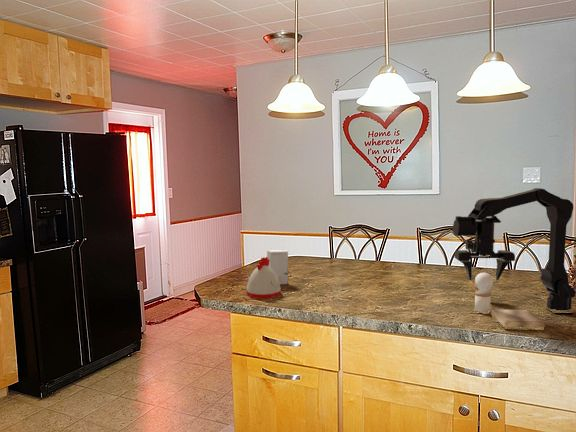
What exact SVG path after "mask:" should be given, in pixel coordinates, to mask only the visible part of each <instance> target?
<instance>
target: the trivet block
mask: <svg viewBox="0 0 576 432" xmlns="http://www.w3.org/2000/svg"><path fill="white" fill-rule="evenodd" d="M490 315H492V316H493V317H495V318H496V319H497V320H498V321H499V322H500V323H501V324H502V325H503V326H505V327H528V326H529V327H533V326H534V327H545V328H546V322H544V320H543V319H541V318H540V317H539V316H538V315H536V314H535V313H533V312H531V311H530V310H529V309H492V310H490Z"/></svg>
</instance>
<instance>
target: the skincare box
mask: <svg viewBox="0 0 576 432" xmlns="http://www.w3.org/2000/svg"><path fill="white" fill-rule="evenodd" d="M266 257H268V259H270V261H269V266H268V267H270V268H271V269H272V270H273V271H274V273H275V274H276V276H277V278H279V280H280V286H281V285H288V283H289V282H288V277H289V271H288V270H289V268H288V266H289V251H288V250H285V249H270V250H266Z"/></svg>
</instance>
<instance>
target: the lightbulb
mask: <svg viewBox="0 0 576 432" xmlns="http://www.w3.org/2000/svg"><path fill="white" fill-rule="evenodd" d="M474 283H475V285H476V287H477V288H478V291H488V292H490V289H491V288H492V286H493V284H494V279H493V277H492V275H491V274H489V273H488V272H479V273H478V274H476V275H475V278H474Z"/></svg>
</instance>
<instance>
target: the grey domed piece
mask: <svg viewBox="0 0 576 432" xmlns="http://www.w3.org/2000/svg"><path fill="white" fill-rule="evenodd" d="M269 261H270V259H268V257H267V256H266V257H260V261H258V264H256V268H255V269H254V270H253V271H252V272H251V275H250V276H248V277H247V286H246V296H247V297H250V298H252V299H253V298H254V299H270V298H271V299H272V298H277V297H279V296H280V295H281V293H282V290H281V285H280V280H279V278H277V276H276V274H275V273H274V271H273V270H272V269H271V268H270V267H268V266H269Z"/></svg>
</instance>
